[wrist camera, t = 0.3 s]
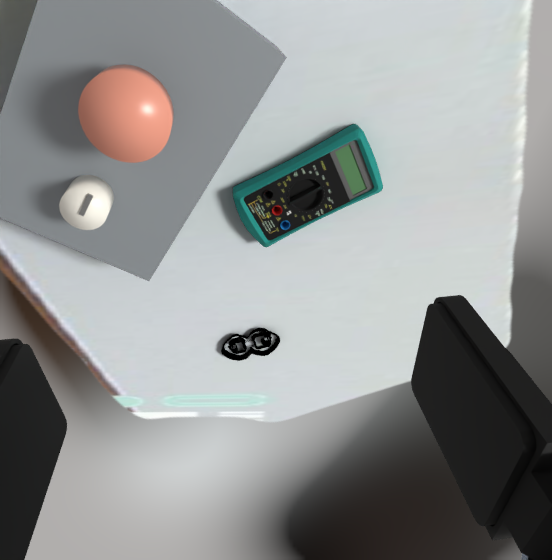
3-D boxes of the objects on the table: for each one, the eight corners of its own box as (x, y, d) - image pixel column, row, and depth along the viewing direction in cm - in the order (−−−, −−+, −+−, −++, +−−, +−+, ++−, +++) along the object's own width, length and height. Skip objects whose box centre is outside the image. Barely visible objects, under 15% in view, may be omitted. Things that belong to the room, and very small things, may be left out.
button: (83, 113, 33) (64, 133, 29) (114, 40, 30) (98, 50, 26) (155, 154, 35) (148, 177, 31) (189, 89, 33) (186, 105, 29)
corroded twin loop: (216, 333, 56) (216, 339, 55) (275, 320, 56) (276, 325, 55) (226, 359, 59) (226, 365, 58) (282, 346, 59) (283, 352, 58)
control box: (-2, 177, 41) (-30, 205, 36) (94, -94, 30) (72, -107, 26) (155, 249, 47) (148, 281, 42) (276, 46, 37) (286, 57, 32)
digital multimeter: (226, 188, 45) (226, 200, 42) (356, 119, 42) (365, 127, 40) (258, 240, 49) (260, 254, 46) (378, 180, 46) (388, 191, 44)
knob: (63, 201, 37) (52, 218, 34) (78, 166, 35) (67, 182, 33) (104, 220, 38) (96, 238, 36) (120, 188, 37) (113, 204, 34)
